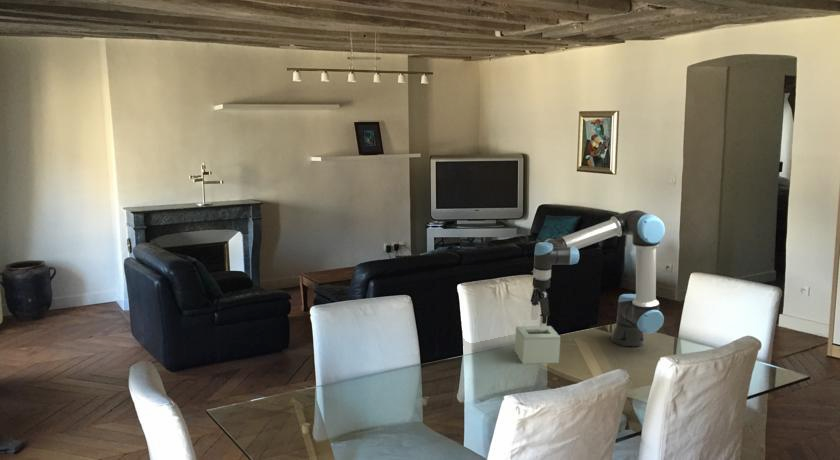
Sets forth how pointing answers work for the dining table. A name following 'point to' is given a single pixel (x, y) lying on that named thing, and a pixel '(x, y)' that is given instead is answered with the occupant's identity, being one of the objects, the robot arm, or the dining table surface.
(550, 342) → the box
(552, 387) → the dining table surface
